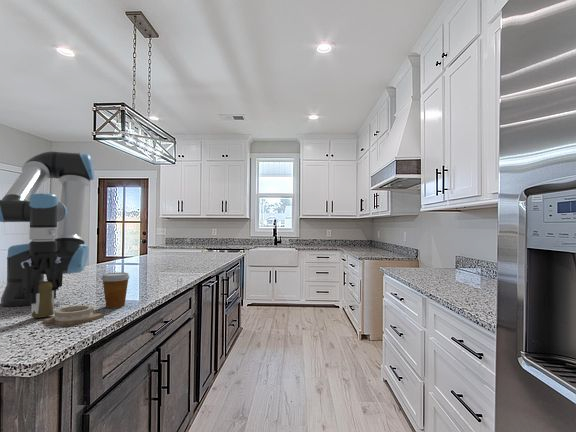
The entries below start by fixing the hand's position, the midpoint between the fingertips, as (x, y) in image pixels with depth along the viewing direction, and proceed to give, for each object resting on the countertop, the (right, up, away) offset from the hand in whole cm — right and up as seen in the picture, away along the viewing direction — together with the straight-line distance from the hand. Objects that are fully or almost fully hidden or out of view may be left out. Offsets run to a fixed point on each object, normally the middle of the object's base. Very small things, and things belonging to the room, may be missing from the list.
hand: (42, 311), depth 115 cm
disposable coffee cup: (+16, -3, +16) cm, 23 cm away
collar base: (+12, -2, -3) cm, 13 cm away
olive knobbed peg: (0, -1, 0) cm, 1 cm away
